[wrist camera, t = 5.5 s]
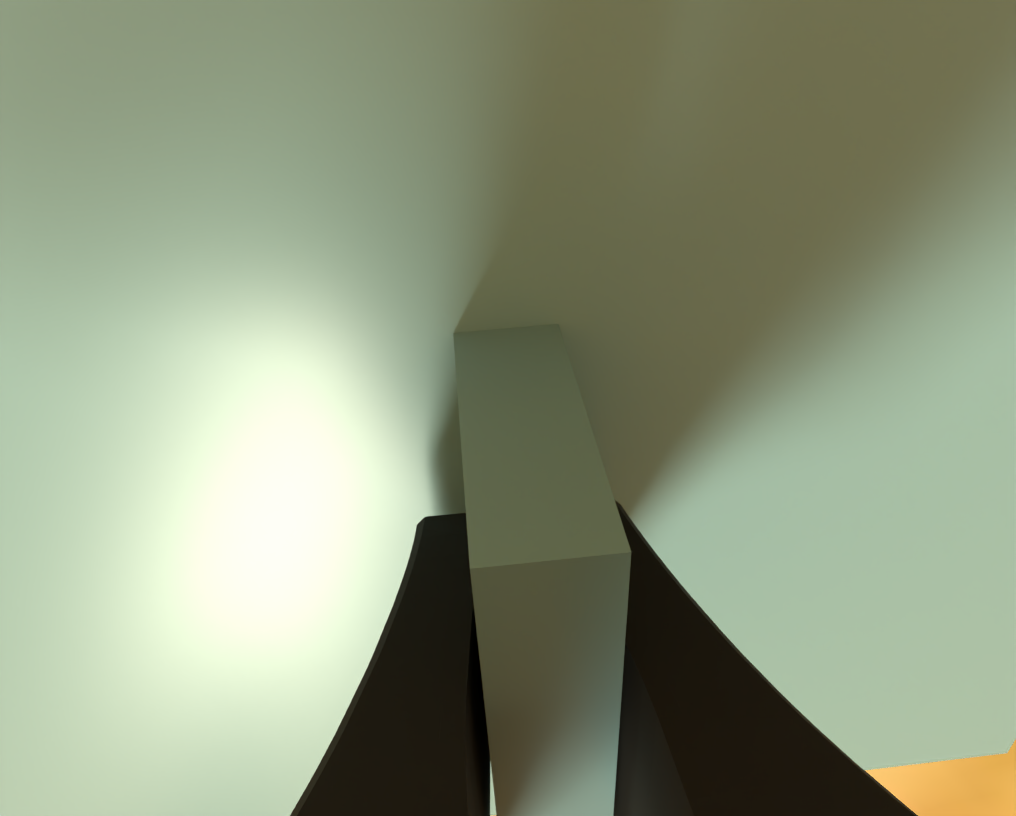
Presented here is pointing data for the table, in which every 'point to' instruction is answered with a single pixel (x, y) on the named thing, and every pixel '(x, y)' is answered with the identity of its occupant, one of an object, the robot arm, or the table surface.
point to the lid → (496, 373)
